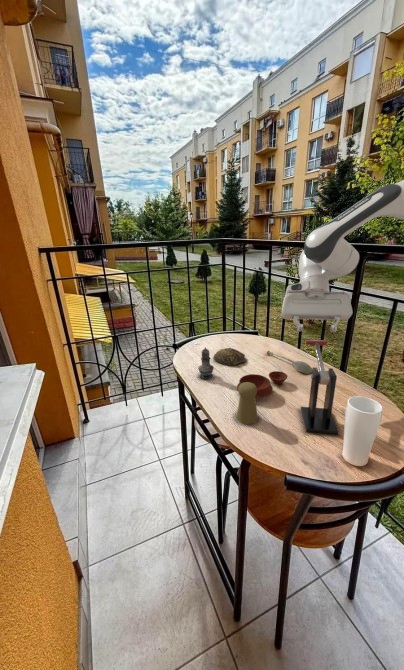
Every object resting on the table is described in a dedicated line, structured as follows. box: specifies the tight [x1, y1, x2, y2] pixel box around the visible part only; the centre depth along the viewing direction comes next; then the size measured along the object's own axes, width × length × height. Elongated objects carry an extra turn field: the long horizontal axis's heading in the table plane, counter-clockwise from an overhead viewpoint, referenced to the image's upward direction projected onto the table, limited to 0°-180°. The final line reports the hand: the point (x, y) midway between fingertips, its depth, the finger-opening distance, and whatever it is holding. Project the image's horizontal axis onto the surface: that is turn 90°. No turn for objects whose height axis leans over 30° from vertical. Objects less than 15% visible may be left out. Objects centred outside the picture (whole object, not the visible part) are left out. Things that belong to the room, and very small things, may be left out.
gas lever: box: [304, 339, 330, 386], centre depth 79 cm, size 16×6×2 cm, turn 169°
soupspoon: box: [266, 350, 313, 375], centre depth 113 cm, size 22×3×7 cm
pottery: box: [236, 370, 288, 399], centre depth 95 cm, size 12×20×4 cm, turn 123°
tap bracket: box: [300, 367, 339, 436], centre depth 76 cm, size 10×8×16 cm
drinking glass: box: [341, 395, 383, 467], centre depth 63 cm, size 7×7×15 cm
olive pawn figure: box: [236, 382, 258, 425], centre depth 80 cm, size 6×6×11 cm
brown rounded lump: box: [213, 347, 246, 366], centre depth 118 cm, size 13×12×5 cm
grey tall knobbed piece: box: [197, 347, 215, 381], centre depth 103 cm, size 6×6×12 cm
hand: (316, 331), depth 83 cm, fingers open, 8 cm apart
